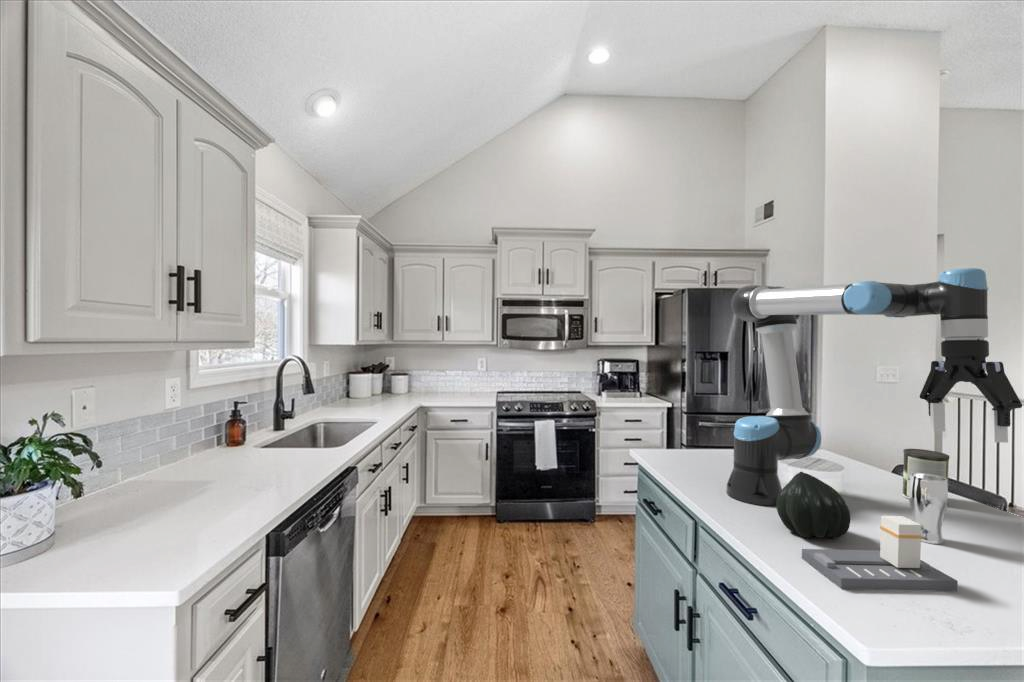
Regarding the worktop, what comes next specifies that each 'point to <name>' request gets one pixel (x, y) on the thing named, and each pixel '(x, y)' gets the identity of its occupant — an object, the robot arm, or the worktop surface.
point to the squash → (812, 508)
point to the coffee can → (923, 465)
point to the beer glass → (928, 504)
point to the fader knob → (900, 541)
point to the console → (875, 571)
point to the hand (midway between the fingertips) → (966, 436)
